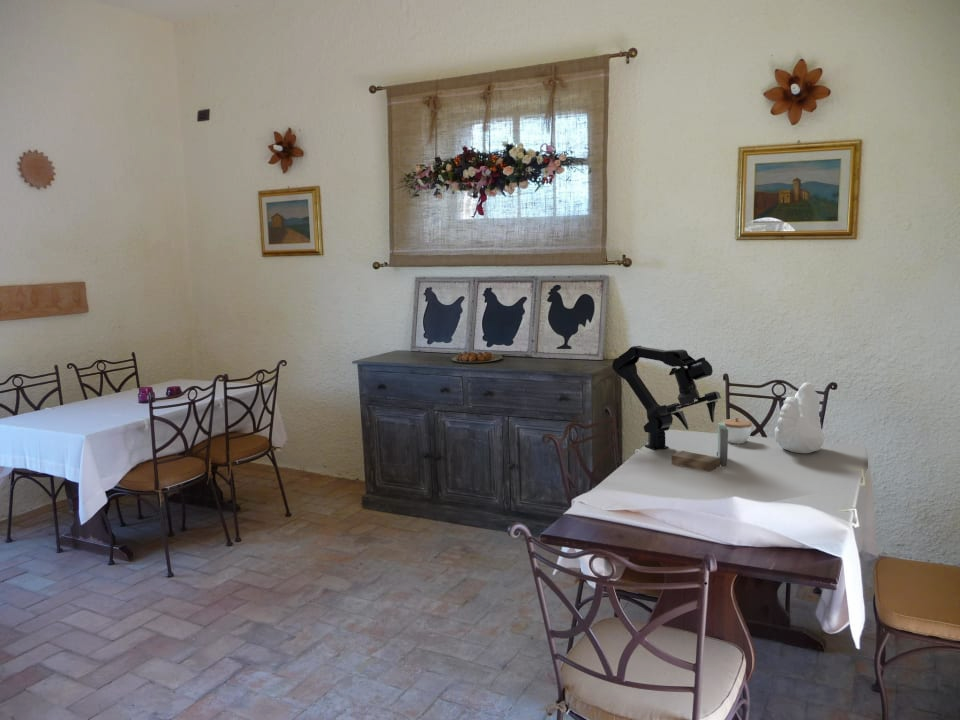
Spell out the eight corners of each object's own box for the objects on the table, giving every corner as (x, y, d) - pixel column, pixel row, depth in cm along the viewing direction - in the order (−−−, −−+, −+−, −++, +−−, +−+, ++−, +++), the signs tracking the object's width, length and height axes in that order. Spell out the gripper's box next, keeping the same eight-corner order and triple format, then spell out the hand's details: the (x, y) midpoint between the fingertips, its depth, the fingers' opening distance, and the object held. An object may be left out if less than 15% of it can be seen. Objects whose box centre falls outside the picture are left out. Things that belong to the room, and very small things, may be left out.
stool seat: (671, 463, 245) (671, 455, 244) (682, 459, 250) (682, 450, 250) (709, 471, 235) (710, 462, 235) (720, 466, 240) (720, 457, 240)
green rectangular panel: (727, 465, 240) (728, 430, 238) (720, 465, 240) (720, 430, 238) (723, 455, 252) (724, 422, 251) (716, 454, 253) (717, 421, 251)
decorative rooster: (795, 442, 269) (798, 377, 266) (834, 451, 256) (837, 383, 253) (751, 452, 257) (753, 384, 254) (789, 462, 244) (792, 390, 240)
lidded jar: (715, 439, 276) (716, 416, 274) (739, 437, 279) (739, 413, 278) (733, 446, 265) (733, 421, 264) (757, 443, 269) (758, 419, 267)
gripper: (654, 392, 251) (668, 434, 248) (706, 376, 242) (720, 420, 239) (664, 391, 261) (677, 432, 258) (713, 375, 251) (728, 418, 249)
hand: (700, 426), depth 251 cm, fingers open, 9 cm apart
